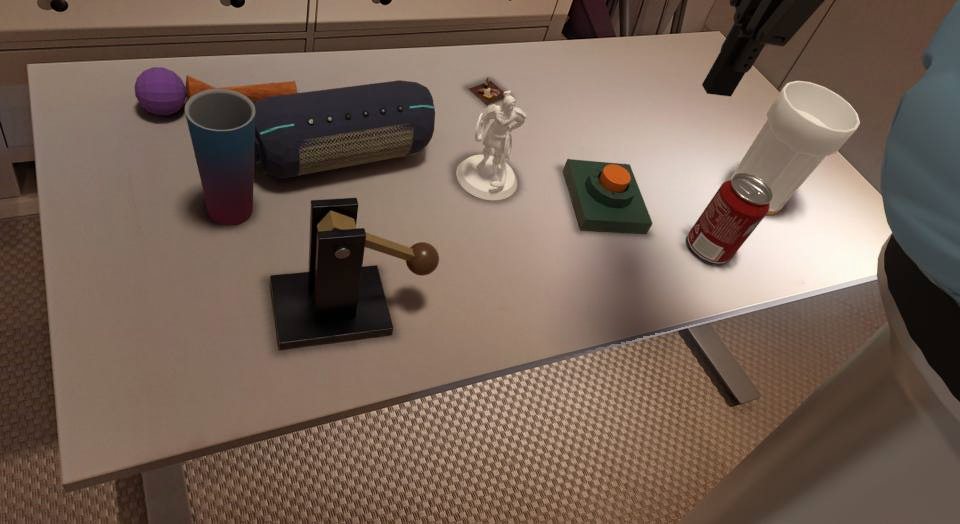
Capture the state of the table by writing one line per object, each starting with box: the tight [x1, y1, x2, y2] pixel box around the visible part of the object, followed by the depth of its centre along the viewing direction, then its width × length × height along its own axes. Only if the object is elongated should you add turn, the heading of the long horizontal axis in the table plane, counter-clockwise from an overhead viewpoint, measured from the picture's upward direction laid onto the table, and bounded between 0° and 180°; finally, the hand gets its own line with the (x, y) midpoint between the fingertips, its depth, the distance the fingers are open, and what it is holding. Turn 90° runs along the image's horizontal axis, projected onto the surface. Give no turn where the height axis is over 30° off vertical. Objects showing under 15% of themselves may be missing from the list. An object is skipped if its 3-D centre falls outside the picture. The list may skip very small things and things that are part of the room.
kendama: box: [133, 66, 298, 116], centre depth 88 cm, size 6×6×20 cm
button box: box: [562, 158, 654, 235], centre depth 93 cm, size 12×10×4 cm
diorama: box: [468, 76, 505, 106], centre depth 105 cm, size 3×4×2 cm
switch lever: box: [317, 211, 440, 276], centre depth 67 cm, size 14×4×4 cm
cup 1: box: [184, 89, 255, 226], centre depth 73 cm, size 7×7×15 cm
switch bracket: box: [269, 197, 394, 350], centre depth 67 cm, size 12×9×15 cm
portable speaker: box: [252, 80, 436, 179], centre depth 85 cm, size 25×10×10 cm, turn 118°
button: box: [599, 164, 631, 193], centre depth 91 cm, size 4×4×2 cm
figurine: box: [455, 89, 527, 201], centre depth 87 cm, size 9×9×15 cm
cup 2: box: [728, 80, 861, 216], centre depth 97 cm, size 11×11×17 cm
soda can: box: [687, 173, 773, 264], centre depth 89 cm, size 7×7×12 cm
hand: (716, 90), depth 65 cm, fingers closed
